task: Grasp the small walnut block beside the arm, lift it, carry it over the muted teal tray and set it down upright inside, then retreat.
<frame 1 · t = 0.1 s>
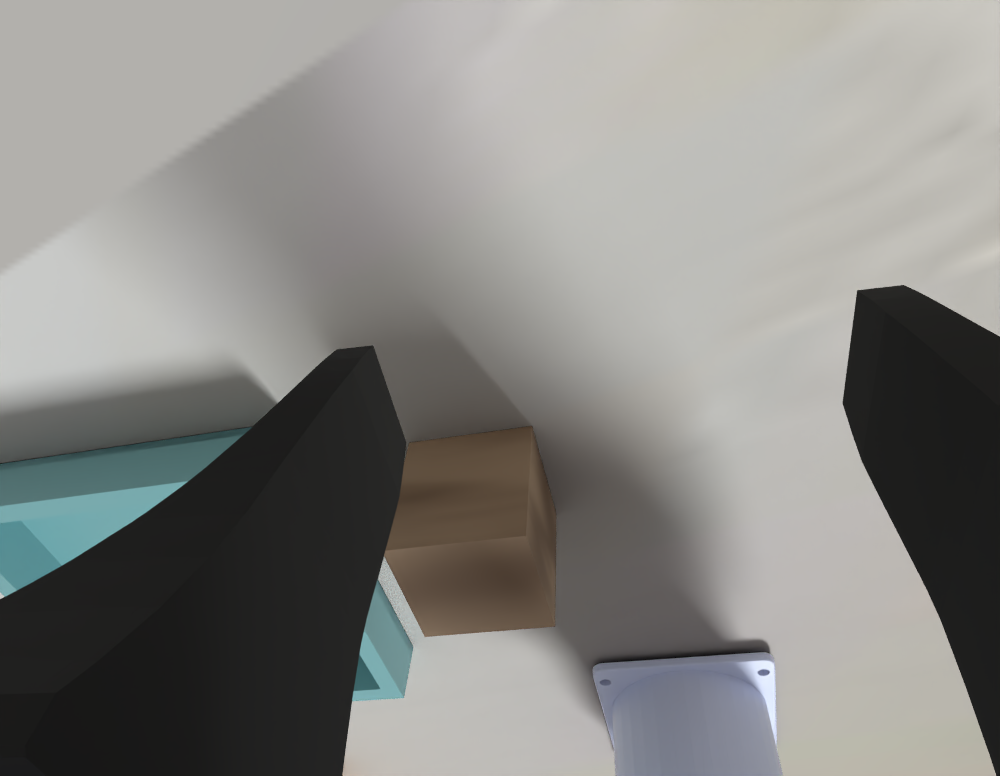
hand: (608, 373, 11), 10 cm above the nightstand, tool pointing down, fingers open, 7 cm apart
walnut block: (485, 478, 27), on the nightstand
teal tray: (209, 565, 31), on the nightstand
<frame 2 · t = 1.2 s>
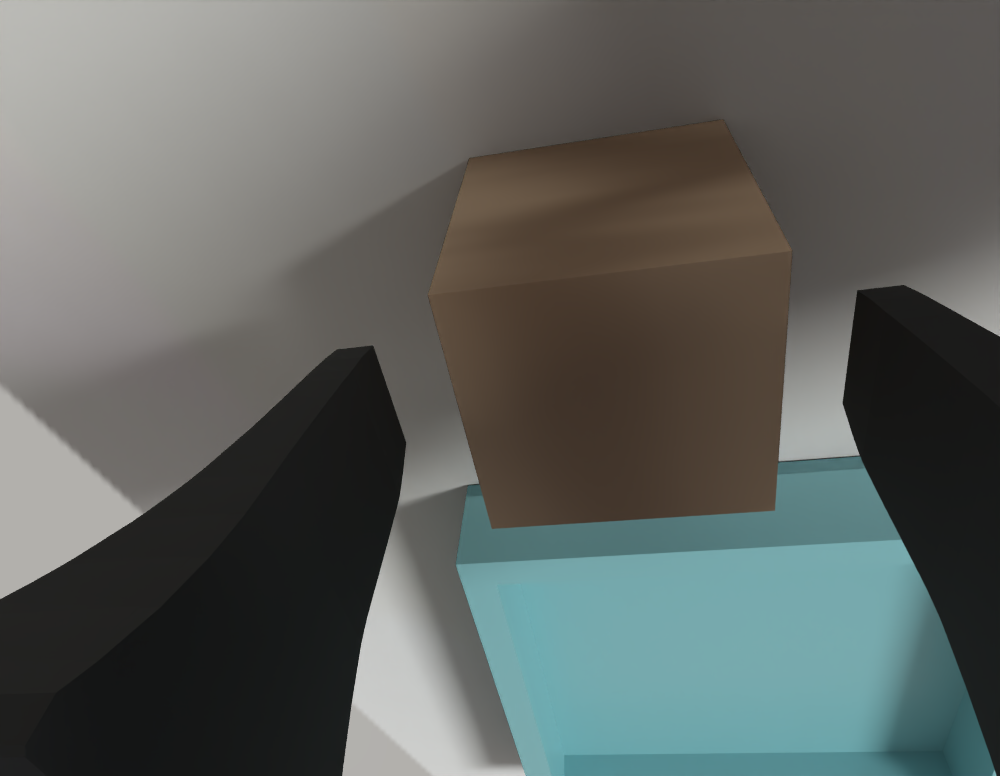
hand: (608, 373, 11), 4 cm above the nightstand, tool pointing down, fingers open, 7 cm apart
walnut block: (604, 251, 14), on the nightstand
teal tray: (747, 636, 21), on the nightstand
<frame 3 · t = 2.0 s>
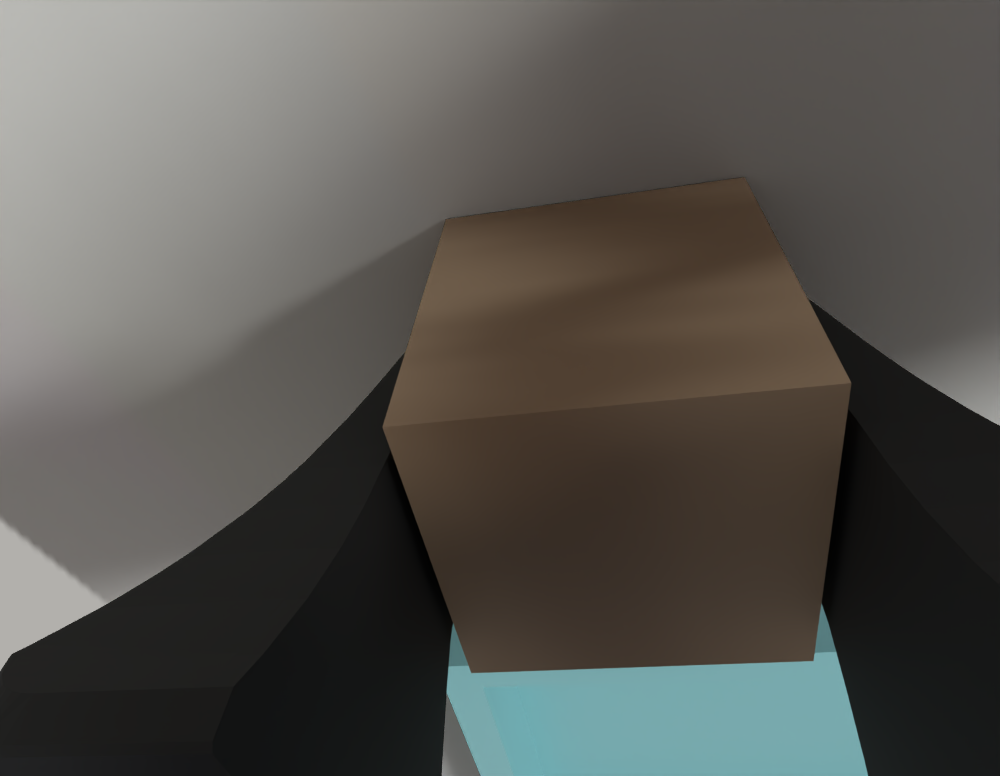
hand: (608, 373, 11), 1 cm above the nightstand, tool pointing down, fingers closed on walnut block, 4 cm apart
walnut block: (604, 323, 12), on the nightstand, touching gripper
teal tray: (761, 719, 19), on the nightstand
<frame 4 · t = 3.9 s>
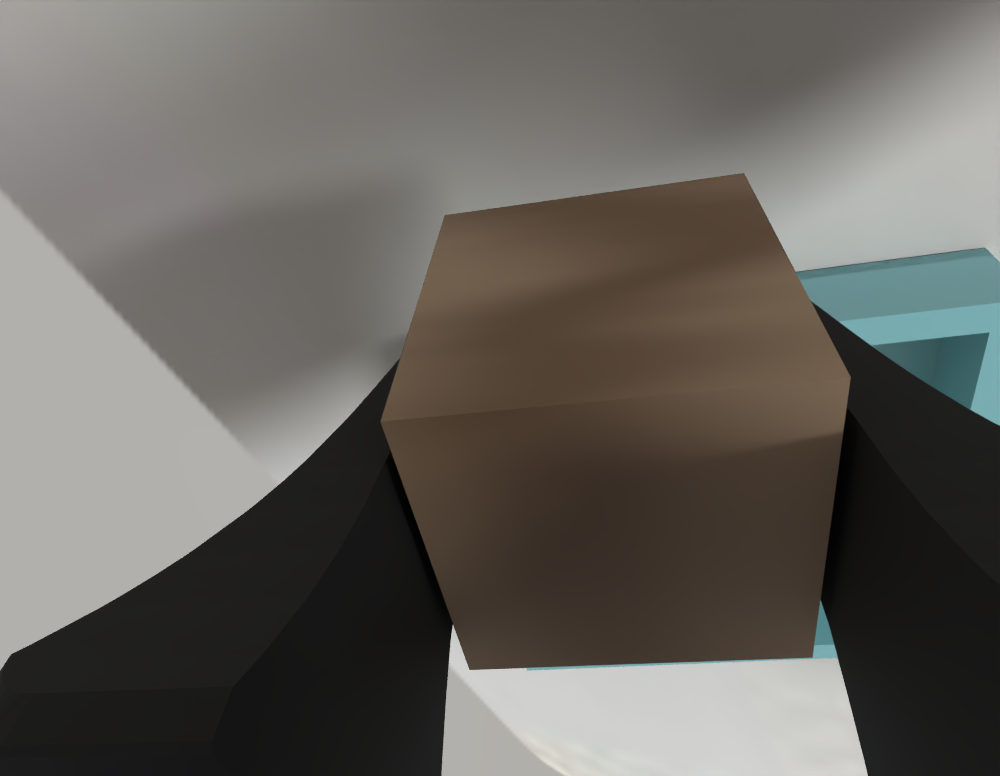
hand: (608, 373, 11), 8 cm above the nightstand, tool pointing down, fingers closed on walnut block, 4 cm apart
walnut block: (603, 320, 12), point 7 cm above the nightstand, touching gripper
teal tray: (706, 471, 24), on the nightstand
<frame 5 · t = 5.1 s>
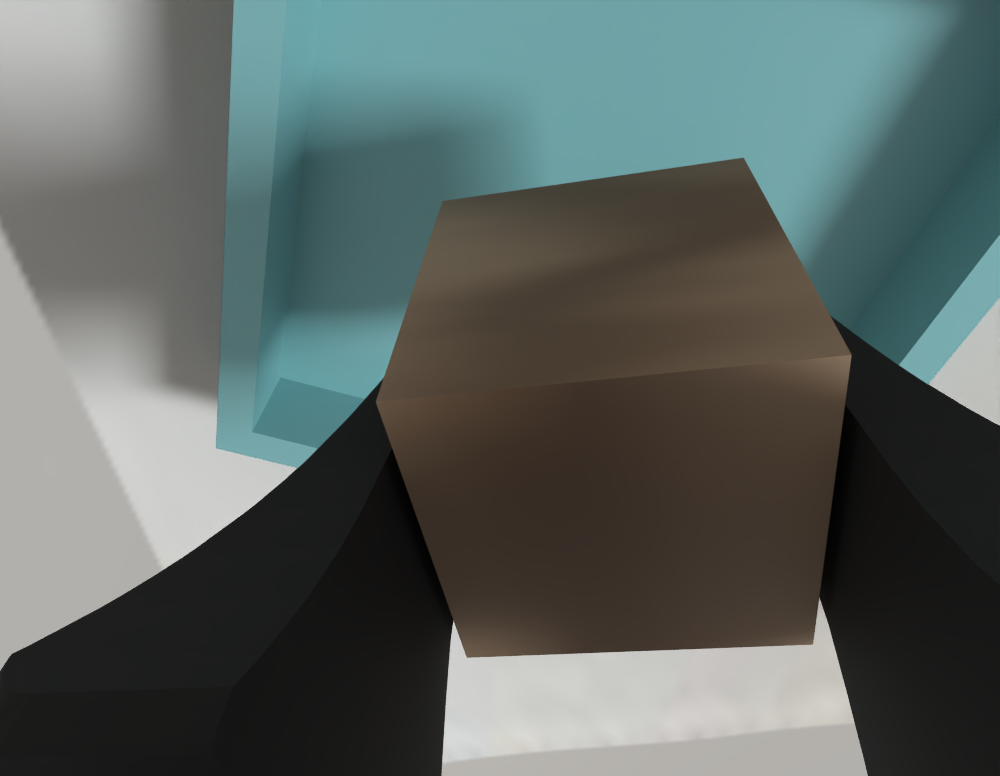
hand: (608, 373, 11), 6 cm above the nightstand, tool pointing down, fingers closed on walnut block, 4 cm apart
walnut block: (602, 308, 12), point 4 cm above the nightstand, touching gripper
teal tray: (597, 219, 16), on the nightstand
when the fingers open (3 cm above the nightstand, at t = 6.0 s): walnut block stays where it is, resting on teal tray.
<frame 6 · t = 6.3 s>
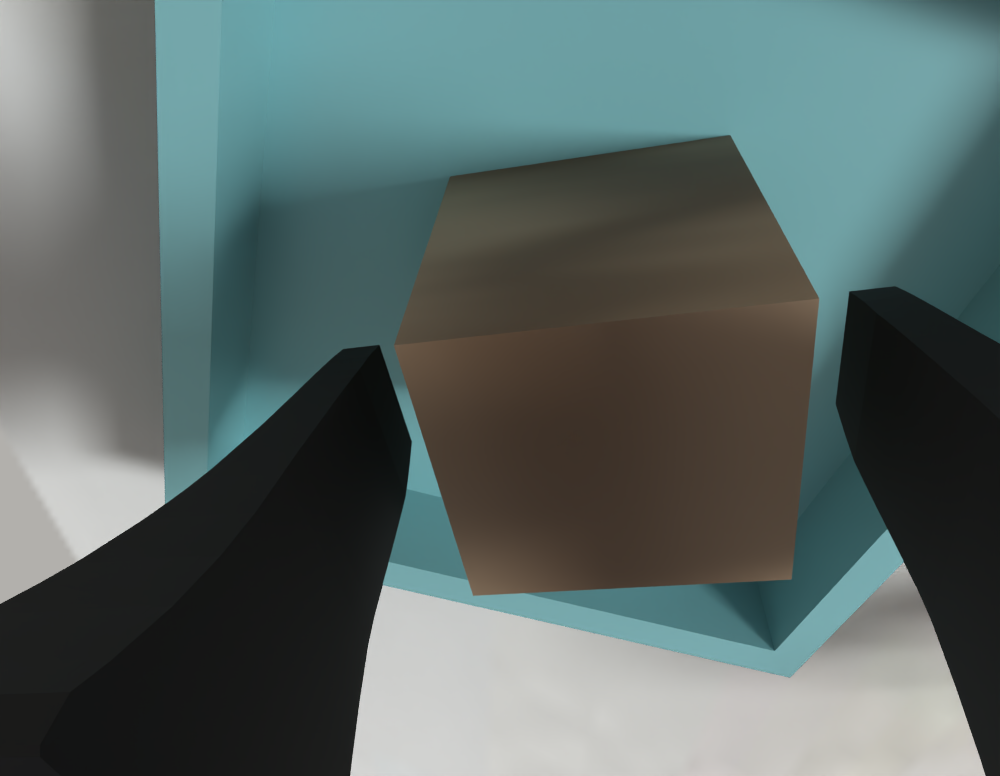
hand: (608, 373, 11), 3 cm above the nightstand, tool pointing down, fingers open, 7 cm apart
walnut block: (598, 279, 13), resting on teal tray
teal tray: (600, 280, 13), on the nightstand
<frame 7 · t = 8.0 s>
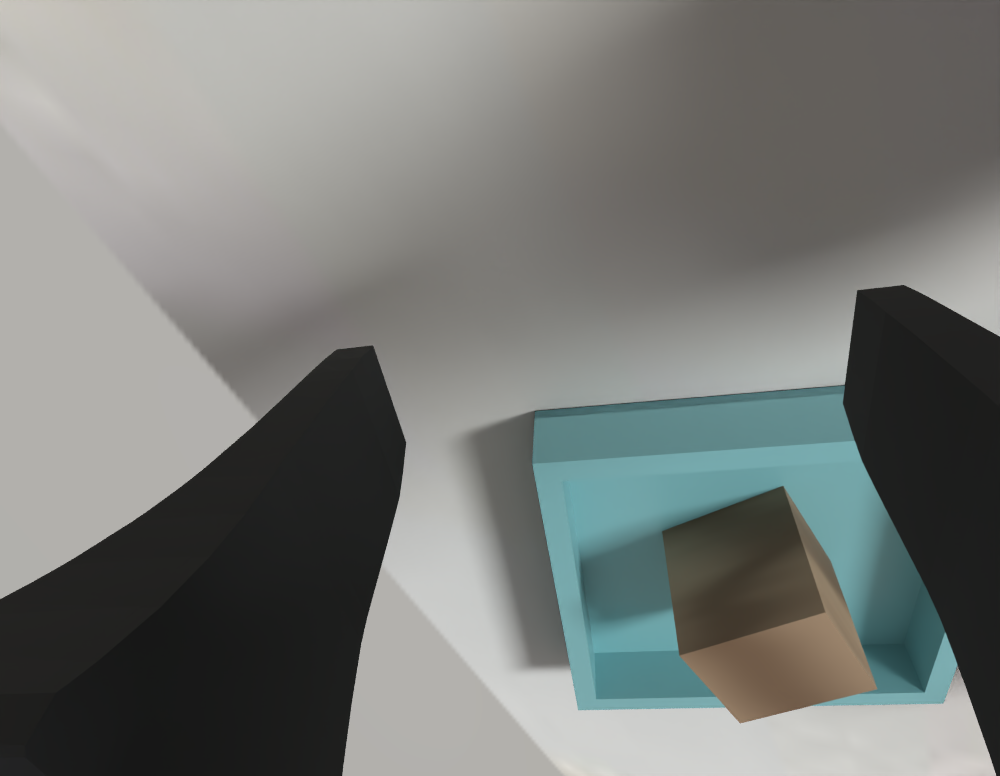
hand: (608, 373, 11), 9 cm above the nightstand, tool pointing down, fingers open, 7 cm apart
walnut block: (746, 546, 26), resting on teal tray
teal tray: (748, 541, 27), on the nightstand
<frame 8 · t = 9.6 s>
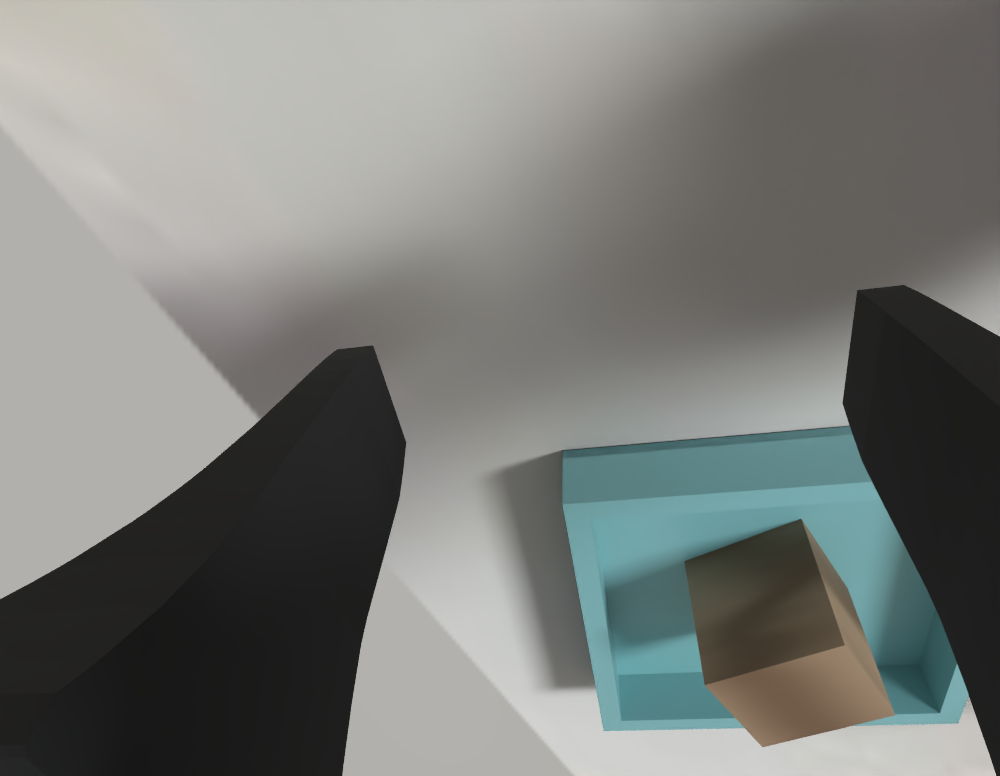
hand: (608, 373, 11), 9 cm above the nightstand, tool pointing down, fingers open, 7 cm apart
walnut block: (766, 574, 27), resting on teal tray
teal tray: (767, 569, 28), on the nightstand
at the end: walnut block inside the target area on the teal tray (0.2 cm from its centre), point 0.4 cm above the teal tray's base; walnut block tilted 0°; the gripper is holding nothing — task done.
